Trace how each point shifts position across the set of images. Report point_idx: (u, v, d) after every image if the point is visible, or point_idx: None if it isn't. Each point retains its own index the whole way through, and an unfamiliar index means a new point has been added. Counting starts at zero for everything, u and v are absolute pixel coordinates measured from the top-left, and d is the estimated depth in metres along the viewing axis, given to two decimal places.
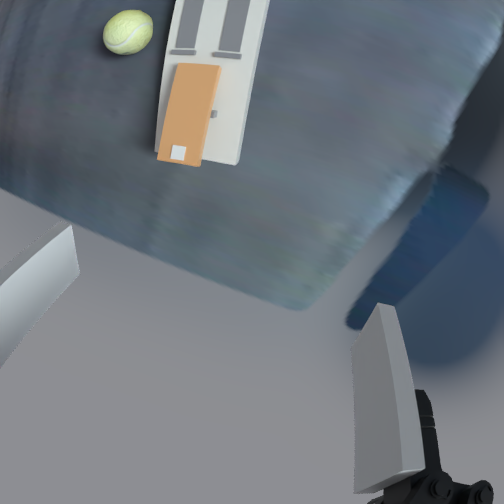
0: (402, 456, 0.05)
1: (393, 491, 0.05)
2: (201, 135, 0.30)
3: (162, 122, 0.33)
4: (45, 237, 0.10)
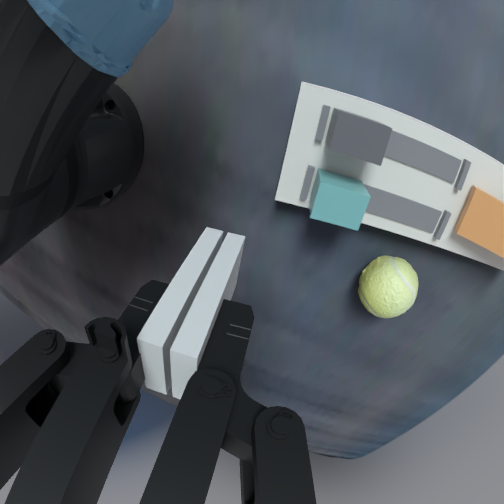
0: (175, 338, 0.07)
1: None
2: None
3: (492, 259, 0.25)
4: (204, 244, 0.11)
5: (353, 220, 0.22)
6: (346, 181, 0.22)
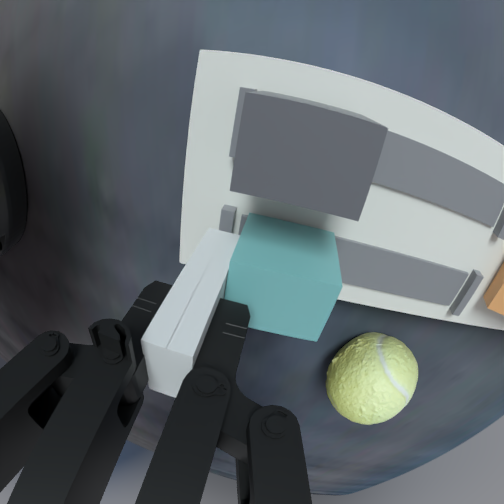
0: (171, 337, 0.07)
1: None
2: None
3: None
4: (207, 245, 0.11)
5: (306, 326, 0.11)
6: (298, 243, 0.12)
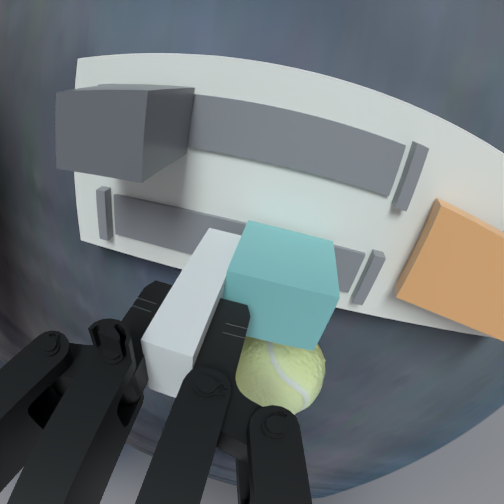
0: (171, 337, 0.07)
1: None
2: None
3: None
4: (207, 245, 0.11)
5: (303, 336, 0.11)
6: (296, 252, 0.12)
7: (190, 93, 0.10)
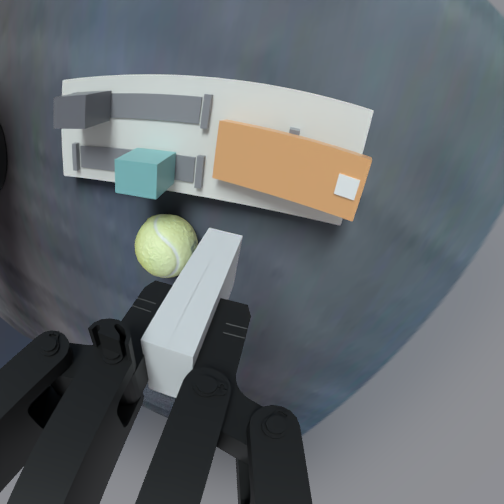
0: (171, 337, 0.07)
1: None
2: (324, 147, 0.20)
3: (300, 208, 0.26)
4: (206, 245, 0.11)
5: (149, 190, 0.22)
6: (150, 155, 0.23)
7: (108, 93, 0.21)
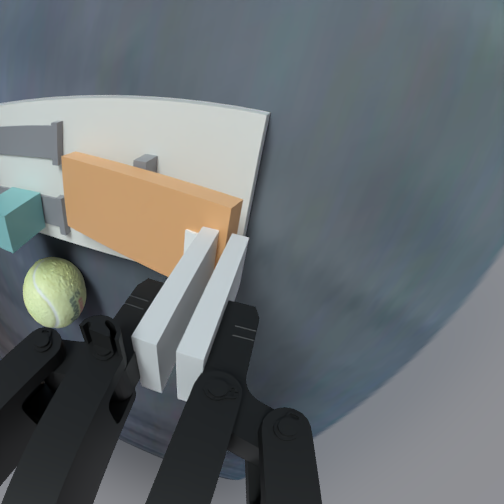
0: (181, 340, 0.07)
1: None
2: (162, 189, 0.13)
3: None
4: (199, 243, 0.11)
5: (6, 242, 0.15)
6: (12, 199, 0.16)
7: None
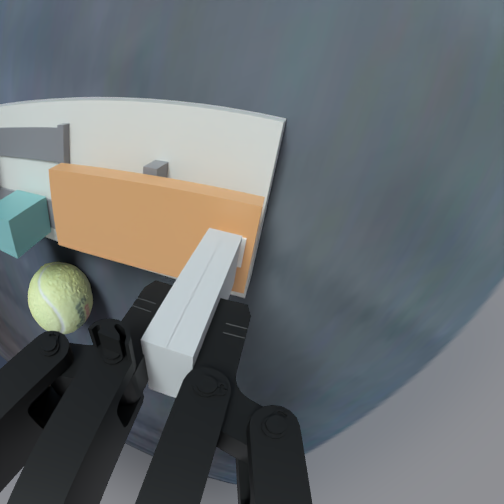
0: (171, 337, 0.07)
1: None
2: (185, 194, 0.13)
3: None
4: (207, 245, 0.11)
5: (10, 247, 0.15)
6: (17, 203, 0.16)
7: None
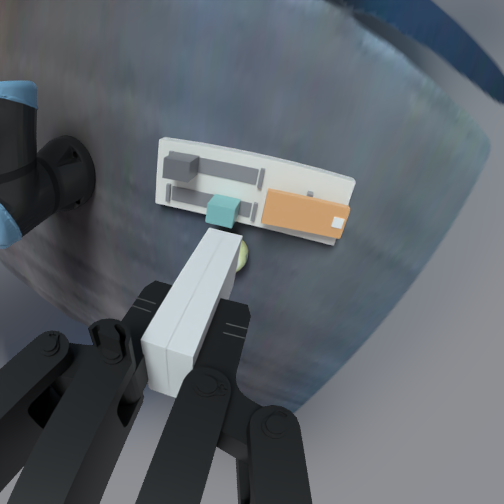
0: (172, 337, 0.07)
1: None
2: (327, 204, 0.40)
3: (310, 235, 0.46)
4: (207, 245, 0.11)
5: (228, 222, 0.42)
6: (227, 201, 0.43)
7: (198, 157, 0.41)
